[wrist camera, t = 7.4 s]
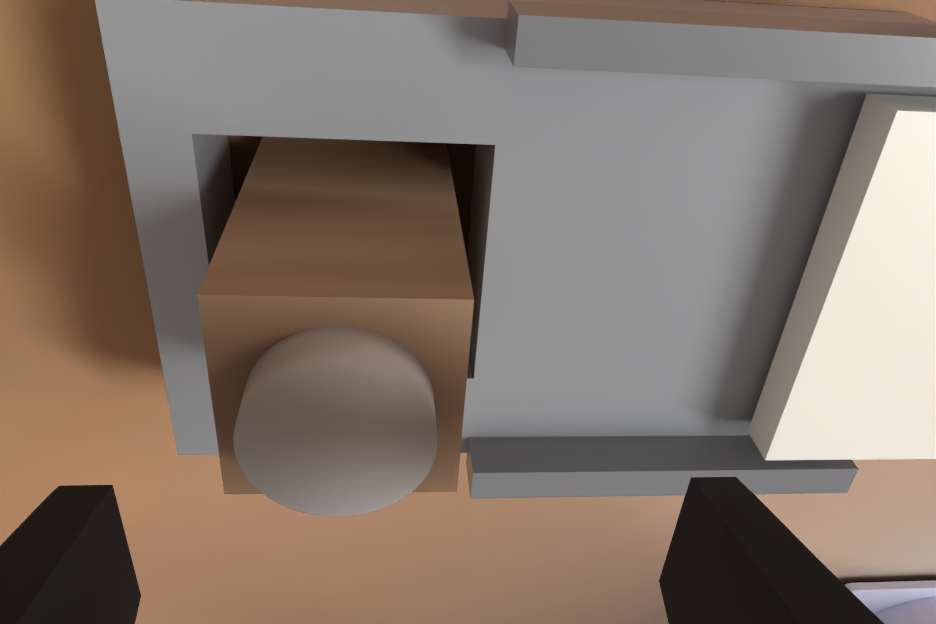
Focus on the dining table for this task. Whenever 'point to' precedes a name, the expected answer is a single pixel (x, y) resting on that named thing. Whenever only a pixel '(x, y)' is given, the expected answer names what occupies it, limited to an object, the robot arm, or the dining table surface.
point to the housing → (539, 200)
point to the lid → (864, 305)
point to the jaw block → (340, 326)
